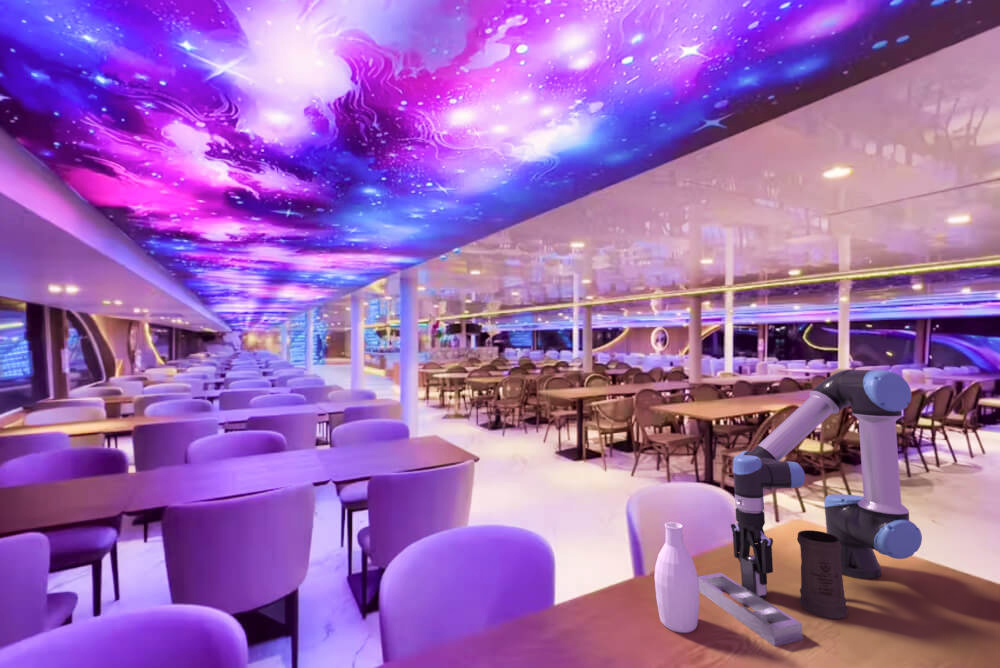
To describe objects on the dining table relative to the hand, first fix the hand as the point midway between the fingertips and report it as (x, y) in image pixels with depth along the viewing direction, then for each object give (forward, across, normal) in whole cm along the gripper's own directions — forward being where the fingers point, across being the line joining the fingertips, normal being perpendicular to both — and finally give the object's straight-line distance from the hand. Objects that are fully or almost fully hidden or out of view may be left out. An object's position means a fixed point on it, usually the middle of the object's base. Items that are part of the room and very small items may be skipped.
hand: (754, 589), depth 131 cm
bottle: (+1, +6, -30) cm, 31 cm away
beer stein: (+1, +9, +13) cm, 16 cm away
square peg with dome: (+1, 0, 0) cm, 1 cm away
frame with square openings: (+1, +7, -10) cm, 12 cm away
